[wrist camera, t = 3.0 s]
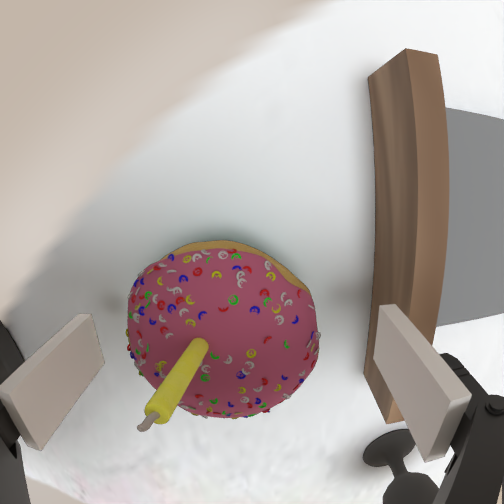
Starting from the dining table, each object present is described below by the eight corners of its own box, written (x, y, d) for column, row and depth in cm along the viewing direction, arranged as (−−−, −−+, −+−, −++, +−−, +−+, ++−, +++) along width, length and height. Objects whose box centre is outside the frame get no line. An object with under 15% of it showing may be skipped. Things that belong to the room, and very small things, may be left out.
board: (402, 323, 18) (408, 331, 17) (407, 106, 15) (415, 103, 14) (531, 299, 18) (539, 304, 17) (543, 133, 14) (552, 133, 13)
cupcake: (130, 265, 17) (-10, 388, 6) (263, 194, 16) (275, 255, 5) (204, 379, 19) (165, 545, 8) (328, 327, 18) (394, 499, 7)
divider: (363, 373, 19) (386, 424, 14) (367, 77, 14) (405, 48, 10) (385, 370, 19) (412, 418, 14) (393, 80, 14) (437, 54, 10)
